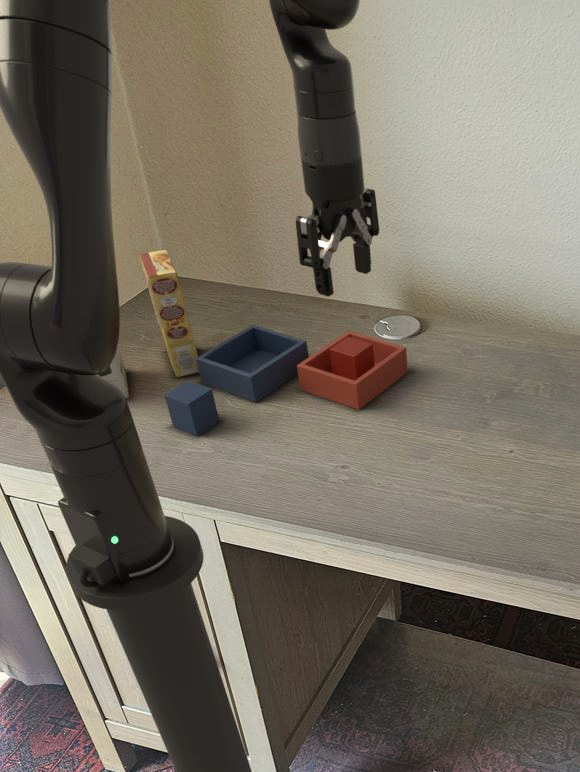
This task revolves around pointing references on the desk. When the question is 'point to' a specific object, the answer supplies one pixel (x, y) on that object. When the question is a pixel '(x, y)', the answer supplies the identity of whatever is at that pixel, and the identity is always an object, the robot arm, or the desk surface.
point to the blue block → (192, 408)
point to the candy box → (170, 311)
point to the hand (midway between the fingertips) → (344, 283)
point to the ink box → (116, 374)
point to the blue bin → (252, 362)
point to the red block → (352, 358)
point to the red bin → (346, 391)
